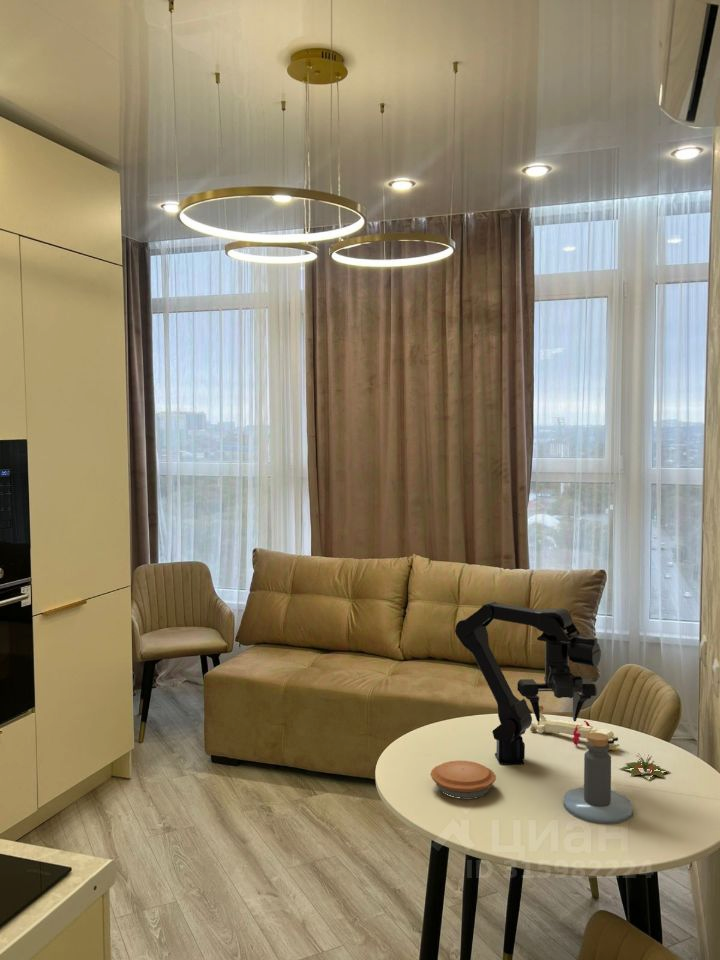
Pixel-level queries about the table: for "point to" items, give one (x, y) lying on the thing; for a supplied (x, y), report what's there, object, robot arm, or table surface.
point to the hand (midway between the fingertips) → (556, 721)
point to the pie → (463, 778)
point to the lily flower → (645, 767)
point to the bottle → (597, 770)
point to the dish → (598, 807)
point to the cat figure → (571, 729)
